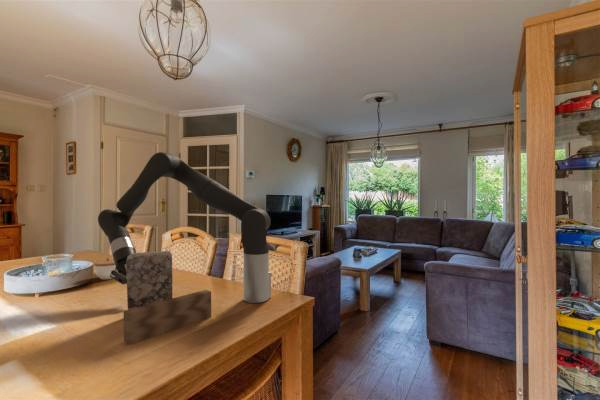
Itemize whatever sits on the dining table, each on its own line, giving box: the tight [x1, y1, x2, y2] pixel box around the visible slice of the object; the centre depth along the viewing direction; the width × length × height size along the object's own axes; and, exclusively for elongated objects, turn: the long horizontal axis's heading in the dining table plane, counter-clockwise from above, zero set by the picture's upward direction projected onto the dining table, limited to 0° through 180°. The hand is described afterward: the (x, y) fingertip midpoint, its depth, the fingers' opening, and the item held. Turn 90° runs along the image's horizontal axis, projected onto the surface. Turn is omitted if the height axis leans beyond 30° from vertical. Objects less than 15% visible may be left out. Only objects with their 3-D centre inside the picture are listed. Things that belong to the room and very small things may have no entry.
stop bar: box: [122, 289, 212, 346], centre depth 86 cm, size 24×3×8 cm, turn 138°
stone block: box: [126, 250, 174, 310], centre depth 96 cm, size 13×7×20 cm, turn 118°
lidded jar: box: [94, 257, 116, 280], centre depth 141 cm, size 11×11×9 cm
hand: (136, 291), depth 104 cm, fingers closed
